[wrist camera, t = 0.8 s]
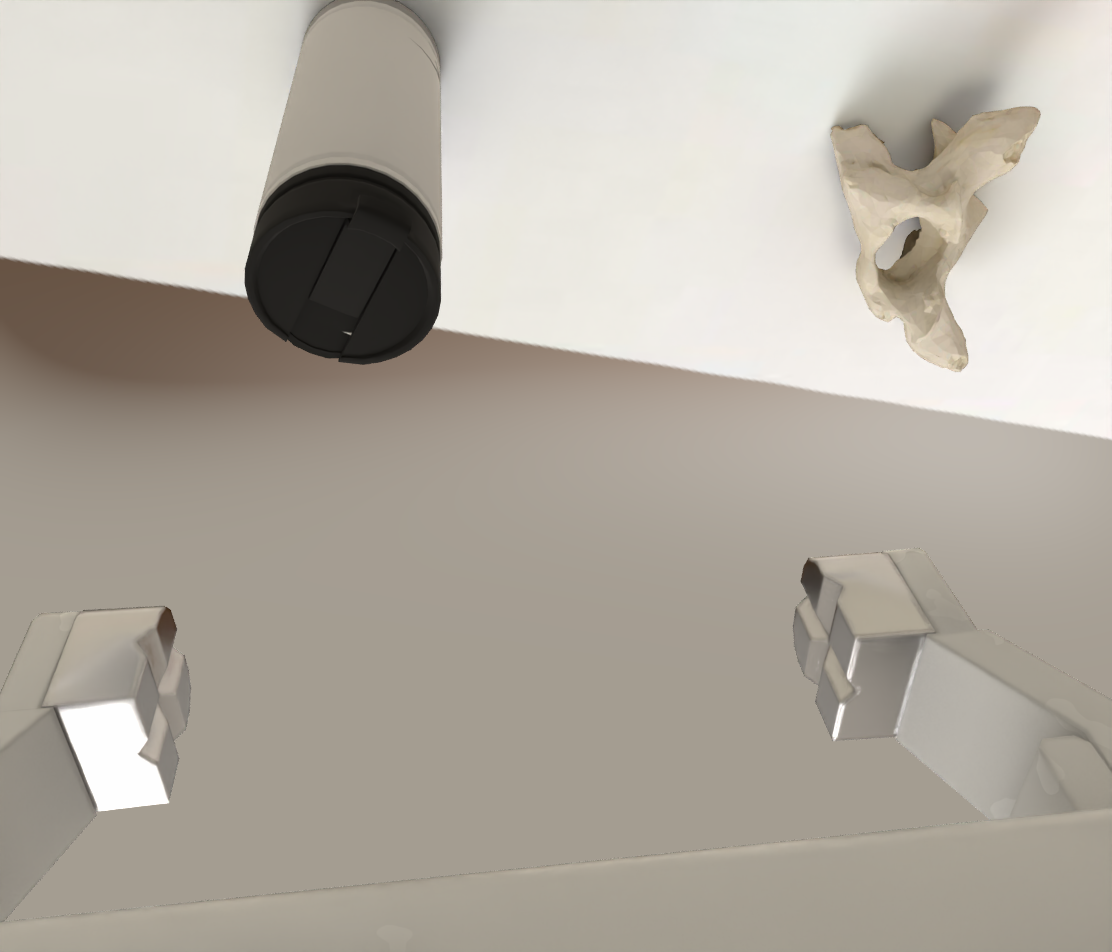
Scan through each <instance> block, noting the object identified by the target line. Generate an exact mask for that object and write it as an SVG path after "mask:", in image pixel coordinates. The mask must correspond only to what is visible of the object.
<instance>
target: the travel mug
mask: <svg viewBox="0 0 1112 952" xmlns="http://www.w3.org/2000/svg"><path fill="white" fill-rule="evenodd" d="M441 260H442V184H441V86H440V58H439V54H438V50H437V46H436V43H435V41H434V39H433V37H432V35H431V33H430V31H429V30H428V28H427V27H426V25H425V24H424V23H423V21H422V20H421V19H420V18H419V17H418V16H417V15H416V14H415V13H414V12H413V11H412V10H410V9H409V8H407V7H406V6H404V5H403V4H401V3H400V2H397V1H395V0H336V1H333V2H331V3H330V4H329V5H327V6H326V7H325V8H323V9H322V10H321V11H320V12H319V13H318V14H317V15H316V16H315V18H314V19H313V20H312V21H311V23H310V25H309V27H308V29H307V31H306V33H305V36H304V40H303V44H302V47H301V51H300V55H299V59H298V62H297V66H296V70H295V74H294V78H293V81H292V85H291V89H290V93H289V96H288V100H287V104H286V108H285V112H284V115H283V119H282V123H281V127H280V130H279V134H278V138H277V142H276V146H275V149H274V153H273V157H272V161H271V164H270V168H269V172H268V176H267V180H266V183H265V187H264V191H263V195H262V199H261V202H260V206H259V210H258V214H257V218H256V221H255V225H254V236H253V240H252V243H251V247H250V251H249V255H248V259H247V263H246V266H245V287H246V292H247V296H248V300H249V302H250V303H251V305H252V308H253V310H254V312H255V314H256V315H257V317H258V318H259V319H260V320H261V322H262V323H263V324H264V326H265V327H266V328H267V329H269V330H270V331H272V332H273V333H274V334H276V335H277V336H279V337H280V338H281V339H283V340H284V341H285V342H286V341H287V339H288V340H289V341H290V342H291V343H292V344H293V345H294V346H296V347H298V348H301V349H303V350H305V351H307V352H309V353H312V354H315V355H318V356H322V357H325V358H339V362H344V363H353V364H362V365H364V364H371V363H378V362H382V361H386V360H389V359H392V358H395V357H397V356H399V355H401V354H403V353H405V352H407V351H409V350H411V349H412V348H413V347H414V346H416V345H417V344H418V343H419V342H421V341H422V340H423V339H424V338H425V336H426V335H427V334H428V333H429V331H430V330H431V329H432V327H433V325H434V323H435V321H436V319H437V316H438V313H439V308H440V303H441V269H440V266H441Z"/></svg>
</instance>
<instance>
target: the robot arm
mask: <svg viewBox="0 0 1112 952" xmlns="http://www.w3.org/2000/svg"><path fill="white" fill-rule="evenodd" d="M801 583H802V585H803V587H804V589H805V591H806V593H807V596H806V597H805V598H804V599H803V600H802V601H801V602H800V603H799V604H798V605H797V606H796V610H795V616H794V624H793V632H794V647H795V651H796V655H797V659H798V662H799V664H800V667H801V670H802V672H803V674H804V676H805V677H806V678H808V679H809V680H811V681H812V682H814V683H815V684H817V685H818V691H817V696H816V701H815V702H816V705H817V707H818V709H819V711H820V714H821V716H822V718H823V720H824V723H825V725H826V727H827V729H828V732H829V734H830V736H831V738H832V741H838V740H854V739H868V738H883V737H896V740H897V741H898V742H899V743H900V744H902V745H903V746H904V747H905V748H906V749H907V750H909V751H910V752H911V753H912V754H913V755H914V756H916V757H917V758H918V759H919V760H920V761H922V762H923V763H924V764H925V765H926V766H927V767H929V768H930V769H931V770H932V771H934V773H936V774H937V775H938V776H939V777H940V778H941V779H943V780H944V781H945V782H946V783H947V784H949V785H950V786H951V787H952V788H953V789H954V790H956V791H957V792H958V793H959V794H960V795H962V796H963V797H964V798H965V799H966V800H968V801H969V802H970V803H971V804H972V805H973V806H974V807H976V808H977V809H978V810H979V811H981V812H982V813H983V814H984V815H985V816H986V817H988V818H989V819H990V820H985V821H975V822H965V823H956V824H946V825H937V826H926V827H918V828H907V829H898V830H888V831H878V832H869V833H859V834H850V835H840V836H830V837H821V838H811V839H801V840H791V841H781V842H773V843H762V844H753V845H742V846H733V847H722V848H713V849H703V850H693V851H683V852H673V853H664V854H654V855H644V856H635V857H625V858H614V859H605V860H595V861H585V862H576V863H566V864H558V865H547V866H537V867H527V868H518V869H508V870H498V871H489V872H479V873H469V874H459V875H450V876H440V877H430V878H421V879H411V880H401V881H392V882H383V883H372V884H362V885H353V886H343V887H334V888H323V889H314V890H304V891H295V892H285V893H275V894H266V895H255V896H247V897H236V898H226V899H217V900H207V901H198V902H187V903H178V904H168V905H159V906H149V907H139V908H129V909H120V910H110V911H100V912H92V913H91V912H90V913H81V914H71V915H61V916H51V917H42V918H33V919H22V920H14V921H5V920H6V919H7V918H8V916H9V915H10V914H11V913H12V912H13V911H14V910H15V908H16V907H17V906H18V905H19V904H20V903H21V901H22V900H23V899H24V898H25V897H26V896H27V894H28V893H29V892H30V891H31V890H32V889H33V888H34V887H35V885H36V884H37V883H38V882H39V880H41V878H42V877H43V876H44V875H45V874H46V873H47V872H48V871H49V869H50V868H51V867H52V866H53V865H54V864H55V862H56V861H57V860H58V859H59V858H60V857H61V856H62V854H63V853H64V852H65V851H66V850H67V849H68V848H69V846H70V845H71V844H72V843H73V842H74V841H75V840H76V838H77V837H78V836H79V835H80V834H81V833H82V832H83V830H84V829H85V828H86V827H87V826H88V824H89V823H90V822H91V821H92V820H93V819H94V818H95V817H96V812H95V811H103V810H112V809H120V808H129V807H137V806H146V805H153V804H162V803H169V800H170V796H171V792H172V787H173V783H174V779H175V774H176V770H177V766H178V762H179V756H178V752H177V749H176V746H175V742H174V740H175V739H176V738H178V737H179V735H181V733H183V732H184V731H185V730H186V727H187V722H188V717H189V712H190V693H191V686H190V678H189V670H188V666H187V663H186V659H185V656H184V655H183V654H182V653H181V652H179V651H178V650H176V649H175V648H174V647H173V643H174V639H175V635H176V631H177V628H176V625H175V622H174V619H173V616H172V613H171V610H170V609H169V608H167V607H165V606H155V607H136V608H118V609H98V610H83V611H75V612H55V613H41V614H39V615H38V616H37V617H36V618H35V619H33V621H32V622H31V624H30V626H29V628H28V630H27V633H26V635H25V637H24V640H23V642H22V644H21V646H20V649H19V651H18V653H17V655H16V658H15V660H14V662H13V664H12V667H11V669H10V671H9V673H8V676H7V678H6V680H5V683H4V685H3V687H2V689H1V692H0V952H1112V699H1111V698H1109V697H1107V696H1105V695H1103V694H1102V693H1100V692H1098V691H1096V690H1095V689H1093V688H1091V687H1089V686H1087V685H1086V684H1084V683H1082V682H1080V681H1079V680H1077V679H1075V678H1073V677H1072V676H1070V675H1068V674H1066V673H1065V672H1062V671H1061V670H1059V669H1058V668H1056V667H1054V666H1052V665H1050V664H1049V663H1047V662H1045V661H1043V660H1042V659H1040V658H1038V657H1036V656H1035V655H1033V654H1031V653H1029V652H1027V651H1026V650H1024V649H1022V648H1020V647H1019V646H1017V645H1015V644H1013V643H1012V642H1010V641H1008V640H1006V639H1005V638H1003V637H1001V636H999V635H998V634H996V633H994V632H992V631H990V630H989V629H987V630H977V628H976V627H975V625H974V624H973V622H972V621H971V619H970V618H969V616H968V615H967V613H966V612H965V610H964V609H963V607H962V606H961V604H960V603H959V601H958V600H957V598H956V597H955V595H954V594H953V592H952V591H951V589H950V588H949V586H948V585H947V583H946V582H945V580H944V579H943V577H942V576H941V574H940V573H939V571H938V570H937V568H936V567H935V565H934V564H933V562H932V561H931V559H930V558H929V556H928V555H927V553H926V552H925V551H923V550H921V549H920V548H912V549H901V550H890V551H882V552H881V553H878V552H876V553H863V554H851V555H839V556H827V557H814V558H808V560H807V562H806V564H805V565H804V568H803V573H802V578H801Z"/></svg>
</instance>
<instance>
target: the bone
mask: <svg viewBox="0 0 1112 952" xmlns="http://www.w3.org/2000/svg"><path fill="white" fill-rule="evenodd" d="M1040 115H1041V114H1040V111H1039V110H1038V109H1037V108H1035V107H1016V108H1011V109H1006V110H1001V111H993V112H982V113H980V114H976V115H972V117H971V118H970V119H969V120H968V121H967V123H966V124H965V125H964V126H963V127H962V128H961V129H960V130H959V131H958V133H956V132H954V131H953V130H952V129H951V128H950V127H949V126H948V125H947V124H945V123H944V122H942V121H939V120H937V119H934V118H933V119H932V121H931V127H932V134H933V137H934V144H935V150H934V156H933V160H932V161H931V163H930V164H929V165H928V166H926V167H924V168H923V169H919V170H917V169H916V170H914V171H908V170H905V169H902V168H900V167H898V166H896V165H894V164H893V163H892V161H891V157H890V154H889V152H888V150H887V149H886V147H885V145H884V144H883V143H884V142H883V141H881V140H880V139H878V138H877V137H876V136H875V135H874V134H873V133H872V132H871V130H870V129H869V127H868V126H867V125H861V124H860V125H858V126H855V127H852V128H848V129H846V130H843V128H841V127H840V126H834V127H832V128H831V129H832V132H831V134H830V136H831V139H832V143H833V148H834V153H835V158H836V162H837V166H838V170H839V175H840V181H841V186H842V190H843V193H844V195H845V198H846V200H847V203H848V206H849V210H850V212H851V215H852V219H853V224H854V229H855V231H856V233H857V236H858V238H859V240H860V242H861V253H860V256H859V258H858V260H857V264H856V280H857V282H858V284H859V286H860V289H861V291H862V293H863V296H864V298H865V300H866V303H867V305H868V307H869V309H870V310H871V312H872V313H873V314H874V315H875V316H876V317H877V318H879V319H880V320H883V321H886V322H890V321H891V320H892V319H894V318H895V317H898V318H900V319H901V320H902V321H903V322H904V330H905V337H906V341H907V343H908V344H909V346H910V347H911V349H912V350H913V351H914V352H915V353H917V354H918V355H919V356H920V357H921V358H923V359H924V360H926V361H928V362H930V363H933V364H935V365H937V366H939V367H941V368H947V369H949V370H952V371H955V372H961V370H962V369H964V368H965V367H966V365H967V364H968V353H967V348H966V339H965V337H964V335H963V332H962V330H961V328H960V327H959V326H958V324H957V323H956V321H955V319H954V316H953V314H952V312H951V310H950V308H949V306H948V303H947V301H946V298H945V281H946V279H947V276H948V274H949V272H950V270H951V269H952V268H953V266H954V265H955V264H956V262H957V261H958V259H959V257H960V256H961V254H962V252H963V250H964V248H965V247H966V245H967V243H968V242H969V240H970V239H971V237H972V235H973V234H974V232H975V230H976V229H977V227H978V226H979V224H980V223H981V222H982V220H983V219H984V217H985V216H986V214H987V211H988V209H987V208H986V207H985V206H984V204H983V203H982V202H981V201H980V200H979V199H978V198H977V197H975V196H974V195H973V194H974V193H975V191H976V190H978V189H979V188H981V187H982V186H984V185H985V184H986V183H988V182H989V181H991V180H993V179H995V178H997V177H999V176H1002V175H1004V174H1006V173H1008V172H1009V171H1010V170H1011V169H1013V168H1014V167H1015V166H1016V165H1017V164H1018V162H1019V159H1020V155H1021V153H1022V151H1023V149H1024V148H1025V144H1026V141H1027V139H1028V137H1029V136H1030V135H1031V134H1032V132H1033V131H1034V129H1035V128H1036V126H1037V124H1038V121H1039V118H1040ZM914 217H919V219H920V220H919V221H920V225H921V228H922V229H919V230H917V231H916V230H913V231H912V232H911V233H910V234H909V235H908V236H907V238H906V240H905V244H904V249H903V251H902V255H901V256H900V258H899V259H898V260H897V261H896V262H895V263H894V265H893V266H892V267H891V268H890V269H888V270H883V269H879V268H878V267H877V265H876V263H875V253H876V252H877V250H878V249H879V248H880V246H881V245H883V244H884V242H885V241H886V240H887V238H888V237H889V236H890V235H891V233H892V232H893V231H894V228H895V226H897V225H899V224H900V223H902V222H903V221H905V220H906V219H910V218H914Z"/></svg>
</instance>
